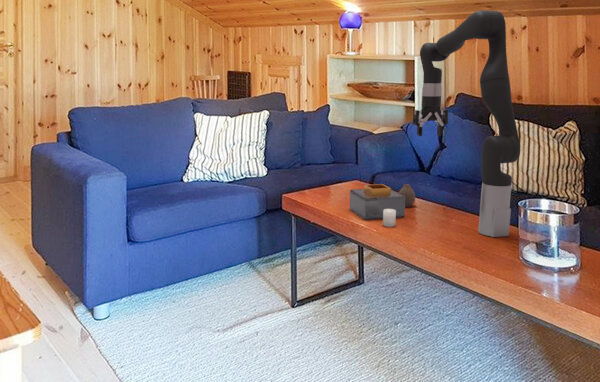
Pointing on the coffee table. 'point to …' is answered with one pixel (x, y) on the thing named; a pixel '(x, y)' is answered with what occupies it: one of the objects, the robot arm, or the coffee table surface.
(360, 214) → the grey box with opening
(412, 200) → the vase
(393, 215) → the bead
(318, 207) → the coffee table surface
